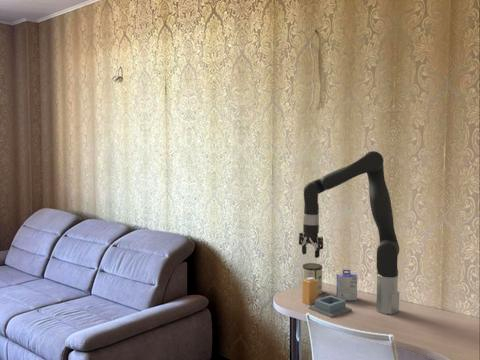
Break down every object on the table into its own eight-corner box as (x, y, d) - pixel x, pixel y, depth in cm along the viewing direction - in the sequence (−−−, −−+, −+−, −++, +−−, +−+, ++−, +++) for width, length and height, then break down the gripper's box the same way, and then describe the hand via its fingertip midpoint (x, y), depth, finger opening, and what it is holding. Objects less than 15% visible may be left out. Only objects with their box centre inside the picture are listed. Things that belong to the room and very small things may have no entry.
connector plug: (317, 301, 227) (317, 278, 226) (309, 304, 223) (309, 280, 222) (310, 299, 230) (311, 276, 229) (302, 302, 227) (302, 278, 226)
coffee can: (304, 287, 248) (305, 262, 247) (323, 289, 245) (324, 264, 243) (300, 293, 239) (300, 267, 238) (319, 296, 235) (320, 269, 234)
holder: (351, 310, 215) (351, 301, 215) (331, 317, 207) (331, 308, 206) (328, 302, 226) (328, 293, 226) (308, 308, 218) (309, 299, 217)
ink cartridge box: (355, 296, 234) (355, 269, 233) (357, 300, 228) (358, 272, 227) (335, 296, 234) (336, 269, 233) (337, 300, 229) (338, 272, 227)
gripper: (327, 224, 220) (326, 257, 221) (306, 220, 231) (305, 251, 232) (316, 226, 215) (315, 260, 217) (295, 221, 226) (294, 253, 228)
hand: (310, 255), depth 224 cm, fingers open, 8 cm apart
